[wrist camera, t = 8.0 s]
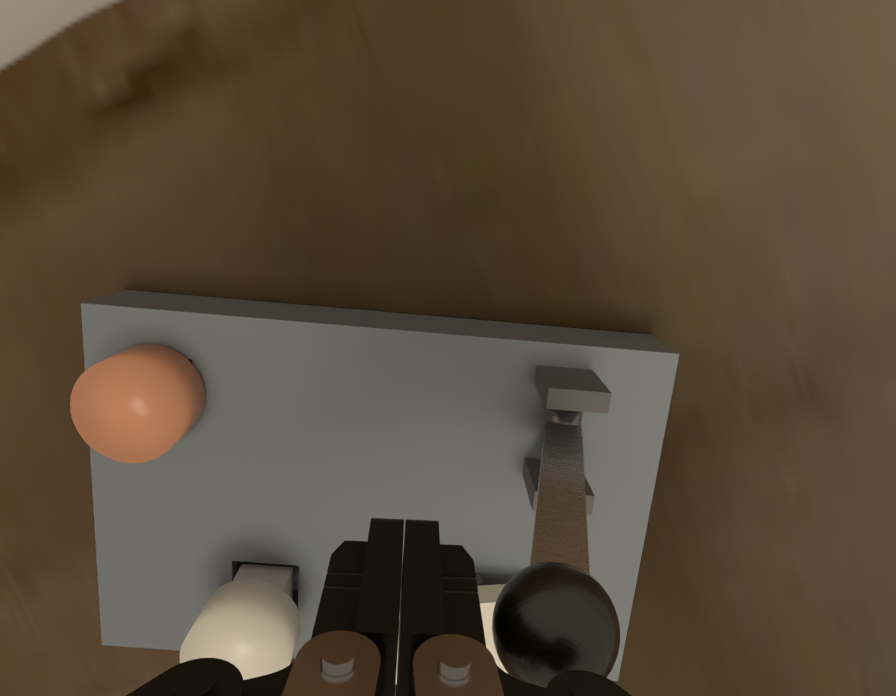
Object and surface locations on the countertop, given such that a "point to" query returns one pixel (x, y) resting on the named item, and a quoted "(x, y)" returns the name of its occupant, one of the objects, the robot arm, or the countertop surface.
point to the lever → (557, 576)
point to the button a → (137, 402)
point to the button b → (248, 622)
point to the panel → (362, 448)
